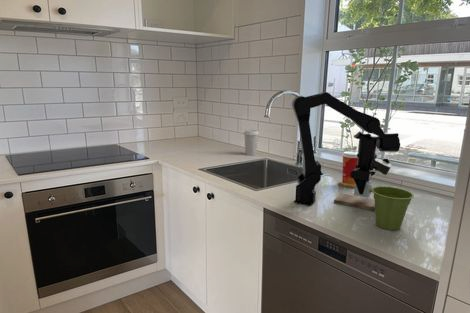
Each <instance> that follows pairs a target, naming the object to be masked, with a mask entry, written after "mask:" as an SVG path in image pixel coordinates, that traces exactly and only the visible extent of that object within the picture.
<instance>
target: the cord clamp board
mask: <svg viewBox="0 0 470 313" xmlns="http://www.w3.org/2000/svg"><path fill="white" fill-rule="evenodd" d="M379 186H380V185H378V186H377V187H379ZM337 187H340V188H343V189H350V190H354V189H355V185H351V184H345V183H342V182H338V183H337ZM372 188H373V187H372ZM372 188H370V190H369V192H371V193H373V192H372ZM333 203H334V204H337V203H338V205H343V206H348V207H354V208H359V209H364V210H369V211H373V212H375V199H374V198H370V197H369V198H366V197H360V196H355V195H354V194H353V195H352V194H348V193H347V194H346V193H342V192H341V193H340V194H338V195H337V196H336V197H335V198H334V199H333Z"/></svg>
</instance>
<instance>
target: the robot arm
mask: <svg viewBox="0 0 470 313" xmlns="http://www.w3.org/2000/svg"><path fill="white" fill-rule="evenodd" d="M323 105H325V106H327V107H329V108H330V109H332V110H334V111H336V112H337V113H339V114H341V115H342V116H344V117H346V118H347V119H350V120H351V121H352V122H353V124H355V125H356V126H357V127H358V128H359V129H361V131H364V132H366V133H362V132H361V131H358V132H357V133H356V134H354V135H353V138H354V139H357V140H358V141H359V142H358V151H357V152H358V154H357V157H358V161H357V165H356V168H355V169H354V170H353V171H352V172H351V173H350V178H353V179H354V181H355V183H356V186H357V188H358V191H359V194H361V195H363V192H364V189H365V186H366V182H367V181H371V179H372V177H373V176H374V175H375V174H376V173H377V171H378V172H380V173H381V174H382V175H384V176H387V175H388V174H389V172H390V171H391V168H392V163H390V162H391V161H390V159H389V158H387V157H385V158H384V159H382V158H380V159H379V158H378V154H377V153H376V149H378V151H379V152H390V153H392V152H393V153H394V152H395V153H398V151H399V150H400V149H401V142H400V137H399V133H398V132H384V130H383V129H382V127H381V121H380V119H379V118H377V116H373V115H370V114H367V113H365V112H362V111H359V110H357V109H355V108H353V107H352V106H350V105H348V104H347V103H345V102H343V101H342V100H340V99H338V98H336V97H335V96H333V95H332V94H331V93H330V92H328V91H327V92H326V91H322V92H320V93H317V94H313V95H308V96H303V95H297V96H296V97H294V98H293V100H292V102H291V107H292V110H293V112H294V115H295V118H296V121H297V125H298V129H299V130H298V131H299V136H300V142H301V143H300V144H301V151H302V156H303V160H302V161H303V163H302V172H301V173H300V174H299V175H298V176H297V177H296V181H297V184H296V186H295V196H294V197H295V199H294V200H293V203H294V204H298V205H304V206H308V207H310V206H312V205H313V204H314V203H315V202H316V198H317V197H316V196H317V195H316V194H317V191H316V185H318V184H319V183H320V181H321V179H322V176H323V173H322V164H321V163H320V162H319V161H318V160H316V158H315V152H314V145H313V139H312V132H311V126H310V117H311V109H313V108H316V107H319V106H323ZM372 134H373V135H375V136H372ZM357 168H358V169H357Z"/></svg>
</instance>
